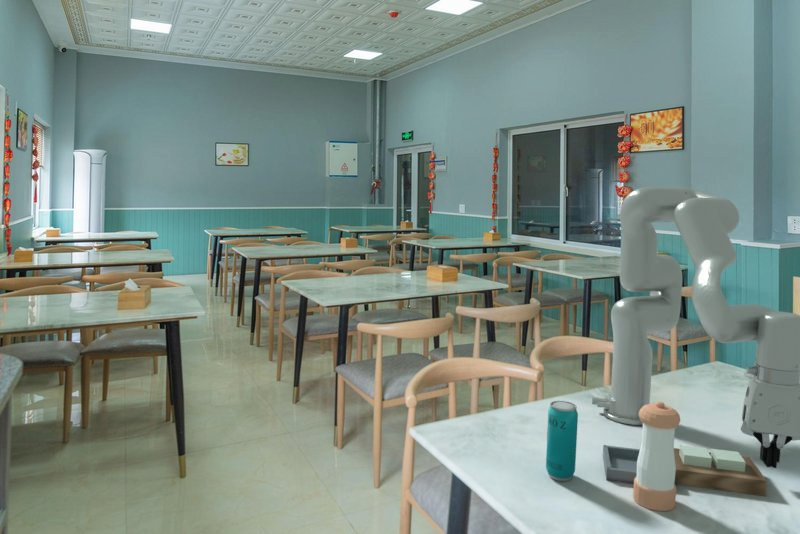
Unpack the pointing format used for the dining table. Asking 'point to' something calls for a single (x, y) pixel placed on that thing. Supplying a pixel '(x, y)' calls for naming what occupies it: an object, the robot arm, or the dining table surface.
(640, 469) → the salt shaker
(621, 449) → the tray
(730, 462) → the tile
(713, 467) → the board
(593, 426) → the dining table surface
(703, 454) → the tile
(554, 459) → the beverage can
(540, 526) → the dining table surface
